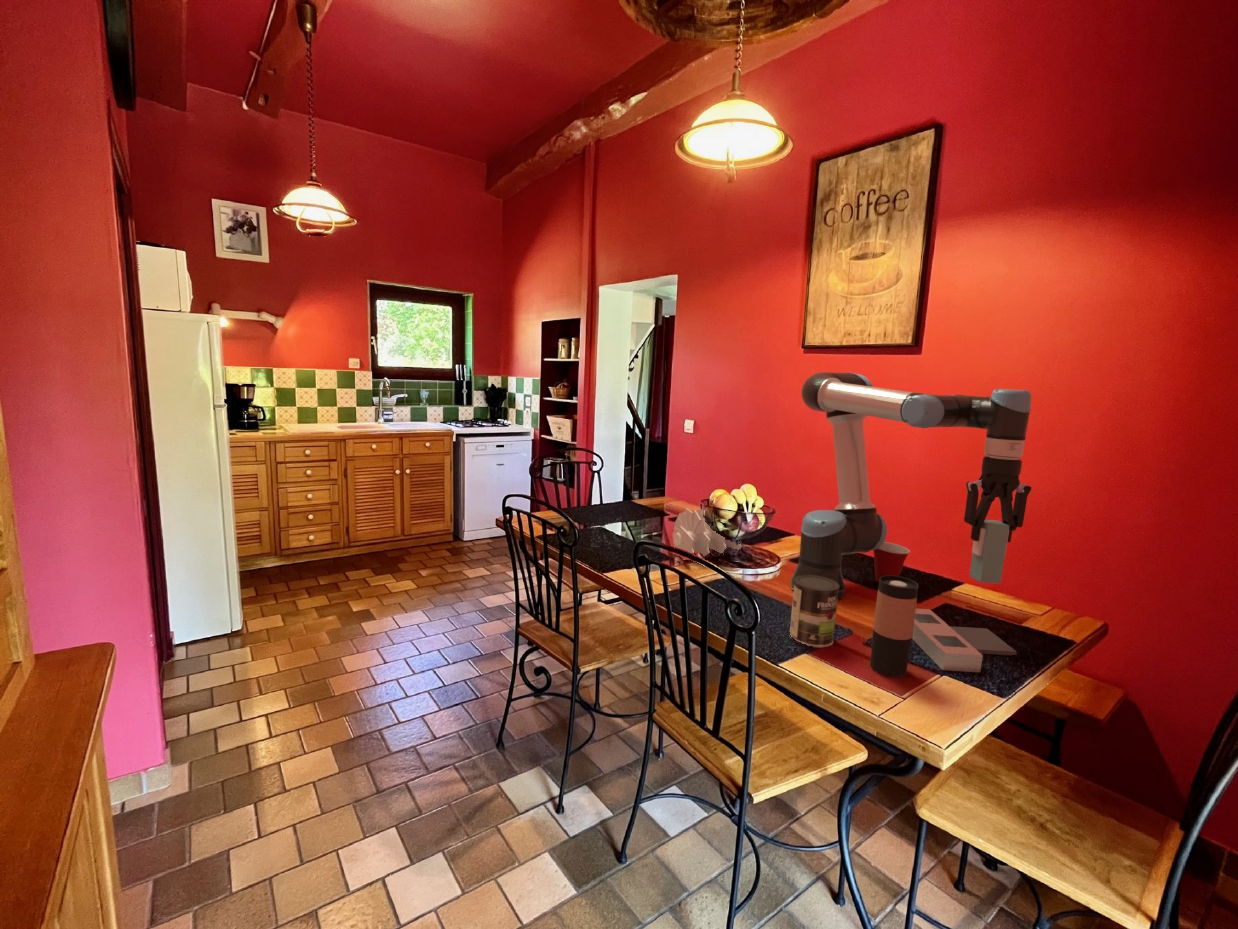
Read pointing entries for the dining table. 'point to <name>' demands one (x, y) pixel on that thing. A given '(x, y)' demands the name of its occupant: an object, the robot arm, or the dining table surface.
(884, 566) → the plastic cup
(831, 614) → the coffee can
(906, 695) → the dining table surface
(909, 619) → the travel mug
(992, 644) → the rubber mat
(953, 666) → the block with square holes
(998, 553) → the gray rectangular box
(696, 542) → the spiral staircase
